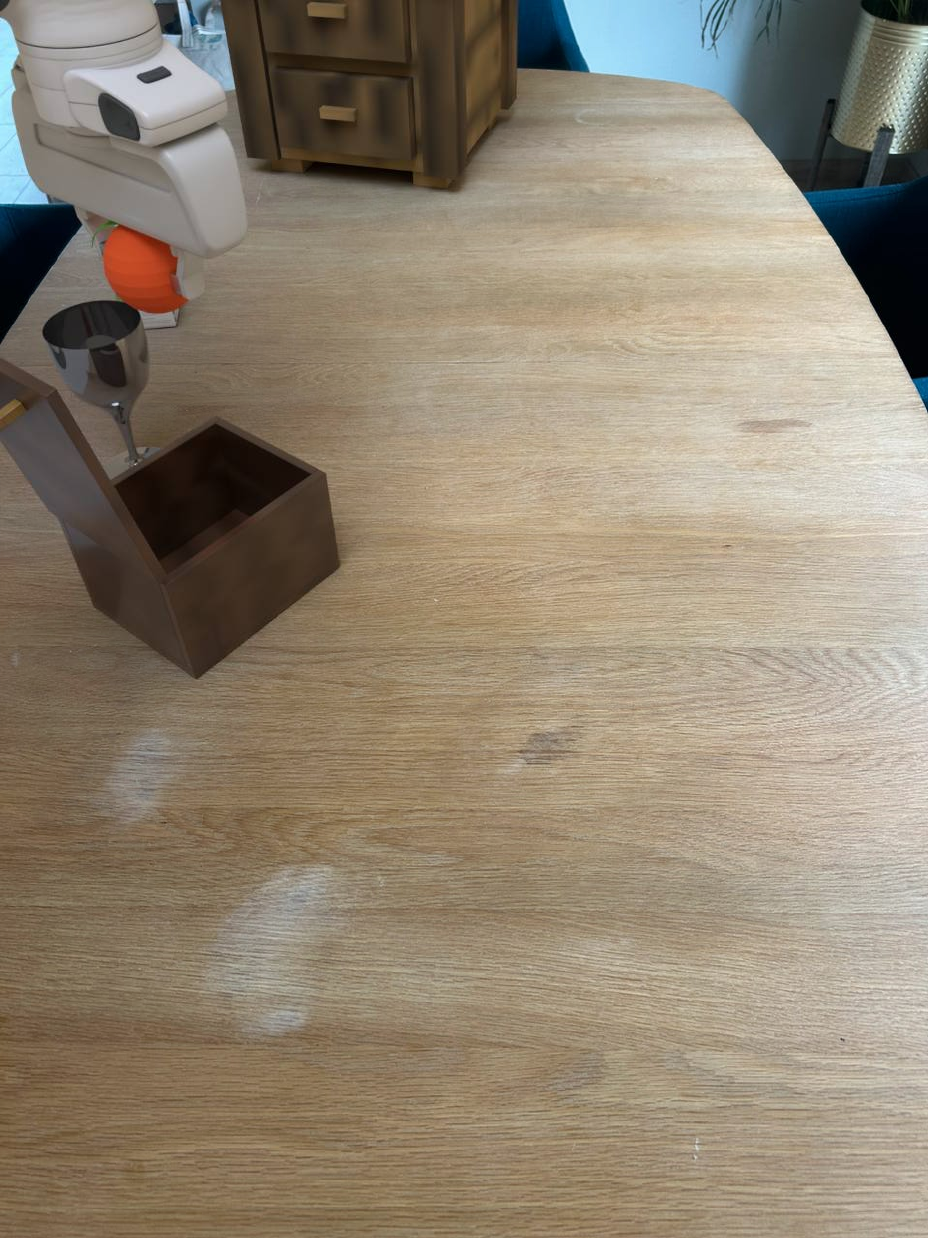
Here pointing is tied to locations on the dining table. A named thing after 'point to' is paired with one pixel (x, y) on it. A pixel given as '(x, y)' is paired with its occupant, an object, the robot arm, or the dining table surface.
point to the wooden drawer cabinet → (371, 80)
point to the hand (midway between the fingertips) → (153, 278)
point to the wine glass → (103, 365)
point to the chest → (213, 543)
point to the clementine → (140, 270)
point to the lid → (67, 468)
